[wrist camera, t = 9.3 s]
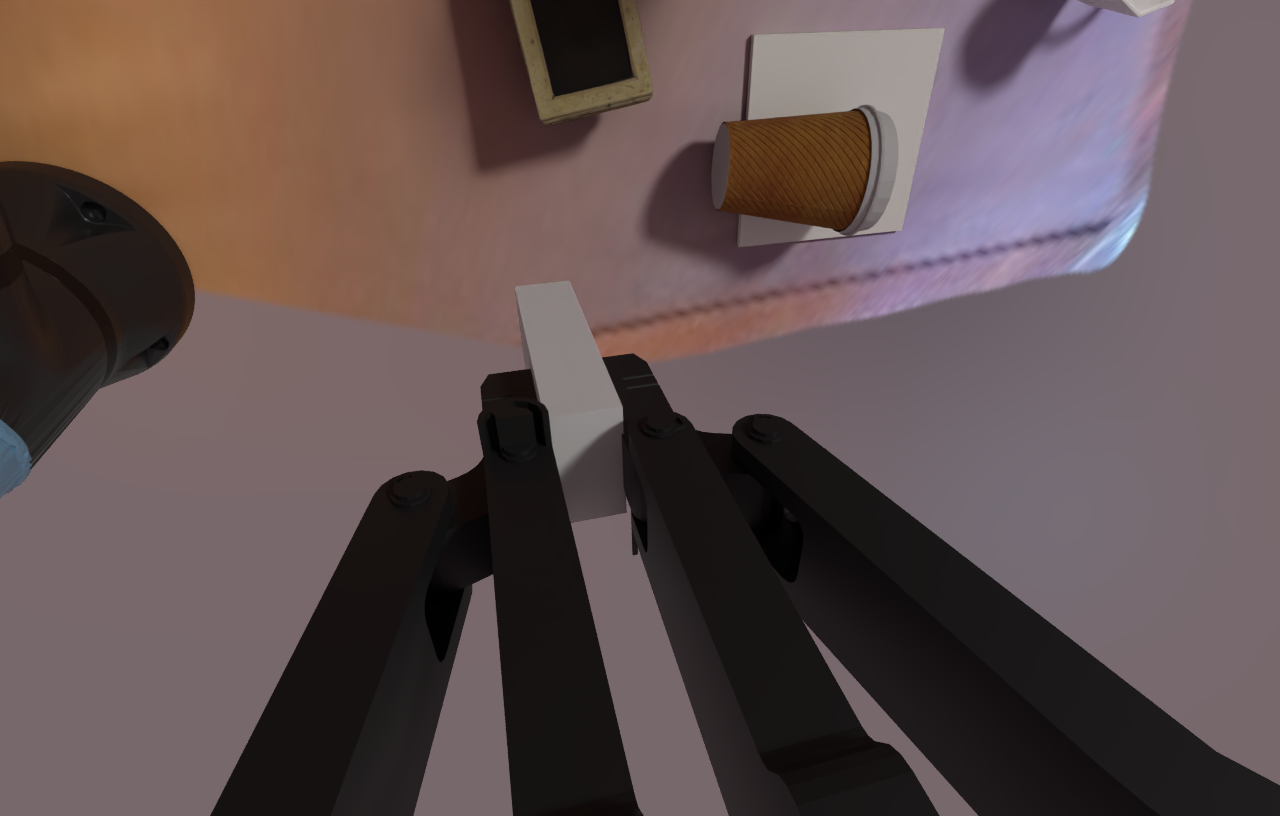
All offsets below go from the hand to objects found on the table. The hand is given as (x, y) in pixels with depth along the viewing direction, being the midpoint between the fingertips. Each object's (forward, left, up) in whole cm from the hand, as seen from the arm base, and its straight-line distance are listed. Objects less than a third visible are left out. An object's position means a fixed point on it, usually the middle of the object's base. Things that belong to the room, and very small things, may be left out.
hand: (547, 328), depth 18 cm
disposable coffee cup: (+16, -3, -31) cm, 35 cm away
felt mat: (+28, -3, -34) cm, 44 cm away
